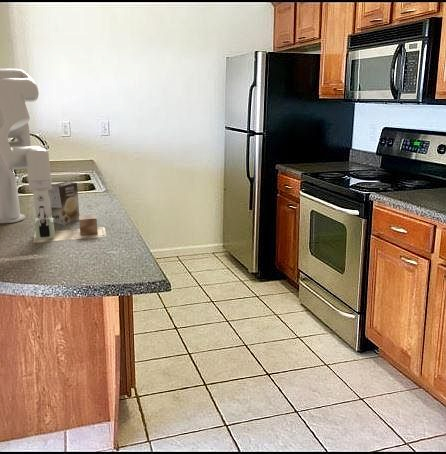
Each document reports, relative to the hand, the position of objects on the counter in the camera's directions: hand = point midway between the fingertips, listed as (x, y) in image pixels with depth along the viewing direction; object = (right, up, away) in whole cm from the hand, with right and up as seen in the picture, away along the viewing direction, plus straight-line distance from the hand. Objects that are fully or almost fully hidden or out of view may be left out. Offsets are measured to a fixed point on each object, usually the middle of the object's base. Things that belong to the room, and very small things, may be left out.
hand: (45, 233), depth 178 cm
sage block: (0, -1, 0) cm, 1 cm away
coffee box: (+1, +4, +21) cm, 22 cm away
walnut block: (+14, 0, +4) cm, 15 cm away
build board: (+8, -1, +3) cm, 9 cm away
